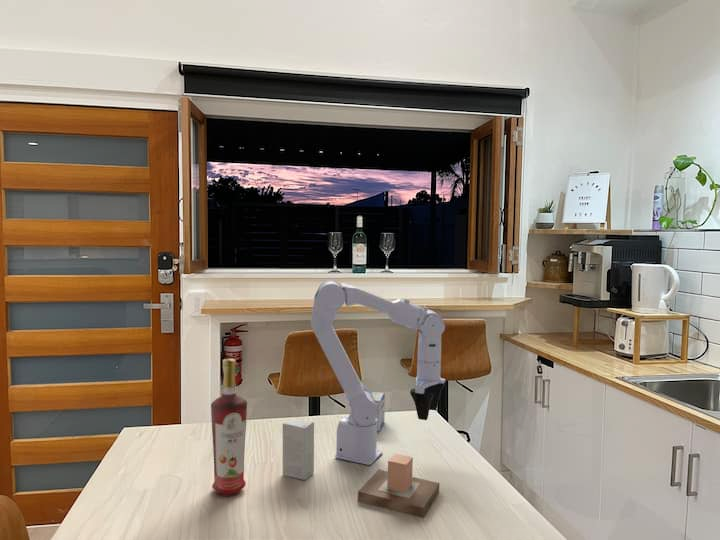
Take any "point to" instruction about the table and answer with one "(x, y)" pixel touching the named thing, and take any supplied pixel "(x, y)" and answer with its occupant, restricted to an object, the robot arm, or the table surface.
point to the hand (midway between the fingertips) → (427, 414)
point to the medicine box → (379, 408)
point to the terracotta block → (400, 473)
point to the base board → (399, 494)
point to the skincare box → (298, 448)
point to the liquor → (229, 435)
